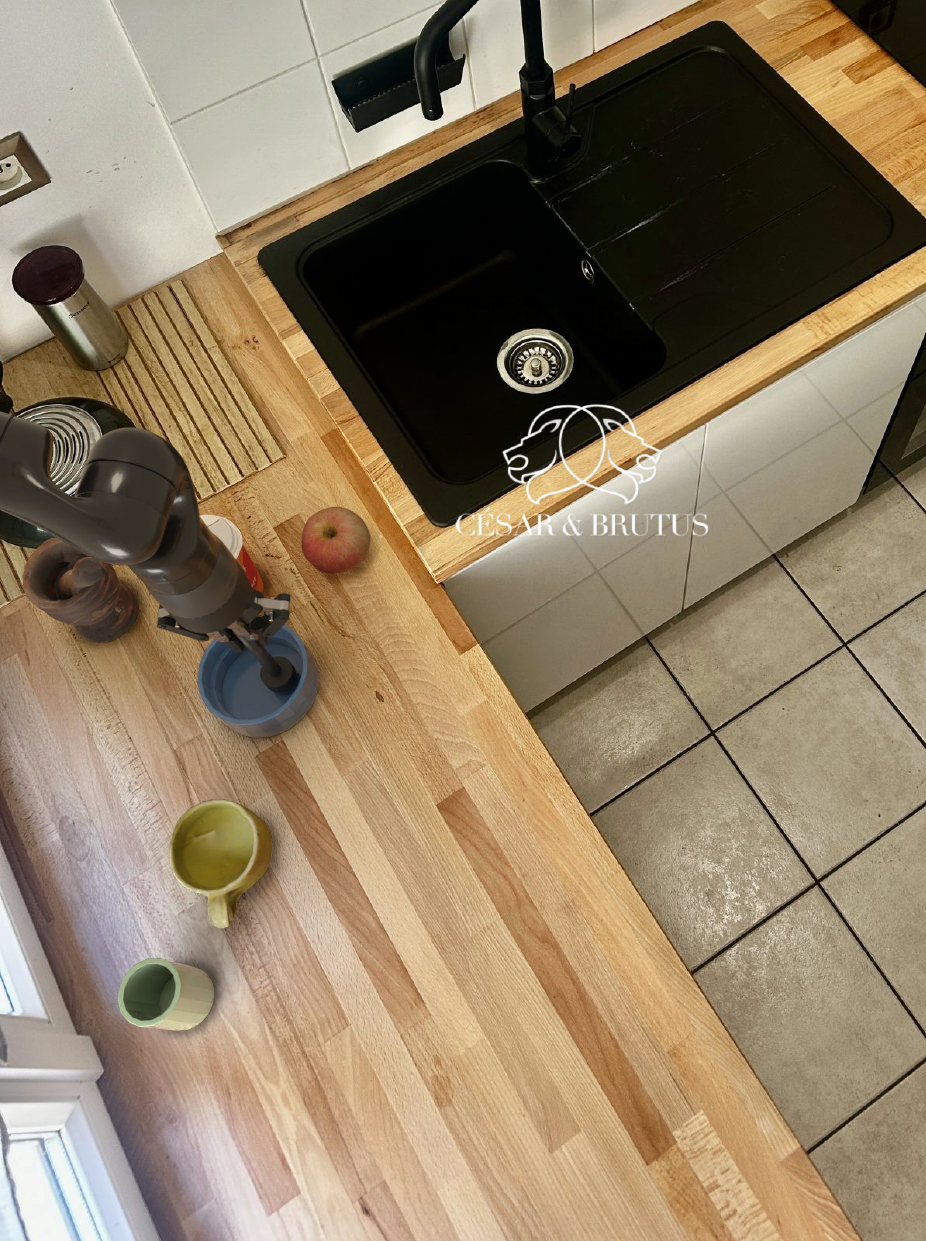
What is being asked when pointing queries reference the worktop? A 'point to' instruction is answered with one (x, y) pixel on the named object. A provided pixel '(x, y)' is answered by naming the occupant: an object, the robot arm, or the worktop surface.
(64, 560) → the mortar and pestle
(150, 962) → the utensil jar
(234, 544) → the paper cup
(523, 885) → the worktop surface
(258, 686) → the bowl
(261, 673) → the black pestle
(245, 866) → the mug
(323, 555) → the apple
